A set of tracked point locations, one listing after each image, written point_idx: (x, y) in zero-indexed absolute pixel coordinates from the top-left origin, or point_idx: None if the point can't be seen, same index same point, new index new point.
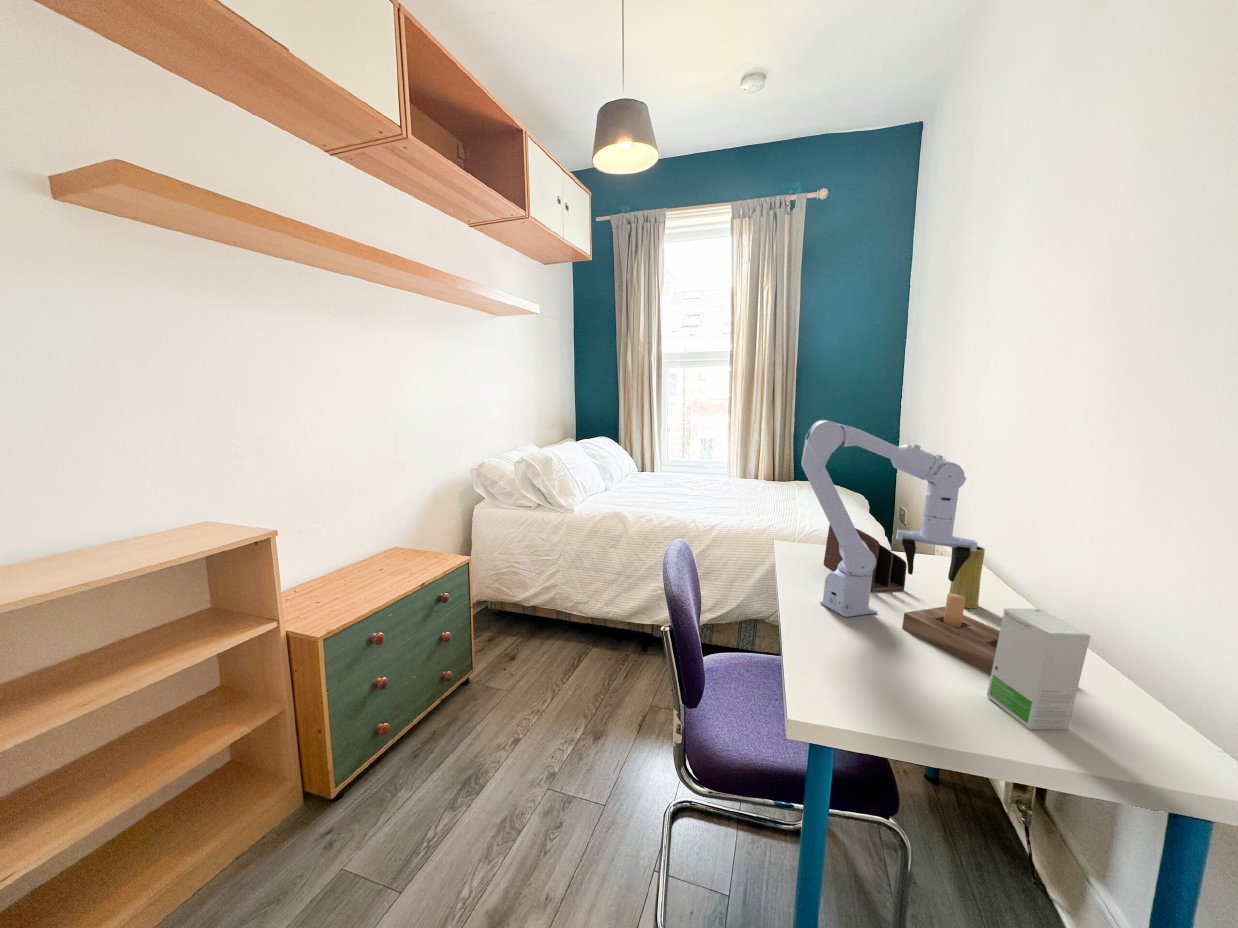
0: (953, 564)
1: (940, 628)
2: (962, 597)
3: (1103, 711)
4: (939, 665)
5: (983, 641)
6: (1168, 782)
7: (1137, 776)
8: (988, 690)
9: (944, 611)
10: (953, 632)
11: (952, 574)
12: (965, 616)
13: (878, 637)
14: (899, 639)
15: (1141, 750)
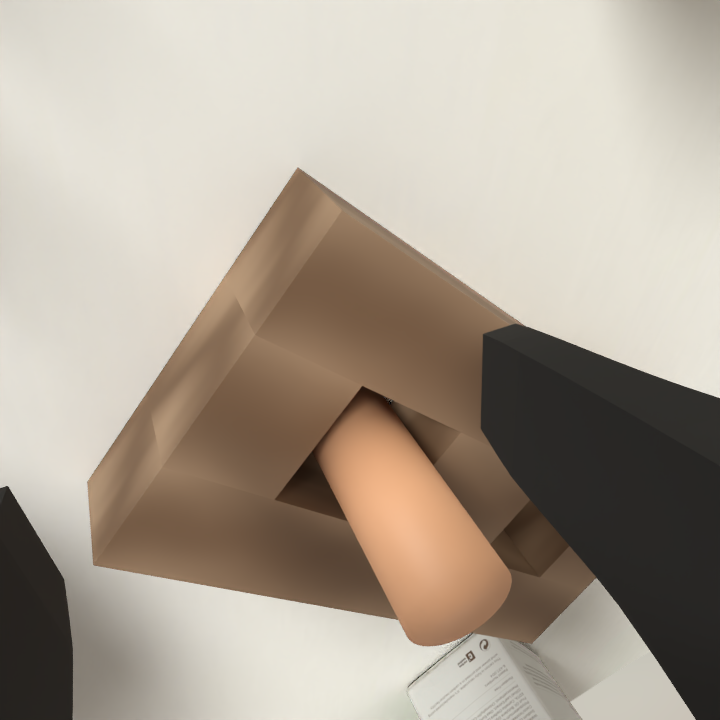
0: (641, 586)
1: (310, 588)
2: (495, 589)
3: None
4: (291, 649)
5: None
6: (622, 663)
7: (585, 685)
8: (415, 708)
9: (337, 326)
10: (365, 576)
11: (542, 505)
12: (459, 310)
13: None
14: (114, 601)
15: None
